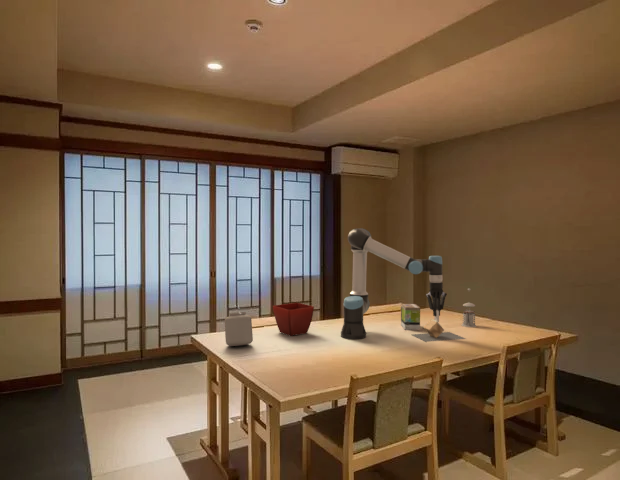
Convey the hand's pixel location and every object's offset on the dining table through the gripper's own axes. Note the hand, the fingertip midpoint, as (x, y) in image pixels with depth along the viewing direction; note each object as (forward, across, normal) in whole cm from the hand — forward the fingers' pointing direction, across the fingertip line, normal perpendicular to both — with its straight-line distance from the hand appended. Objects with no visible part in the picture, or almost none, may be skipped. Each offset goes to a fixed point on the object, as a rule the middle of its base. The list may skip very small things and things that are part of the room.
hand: (436, 321), depth 267 cm
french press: (+10, +37, +23) cm, 45 cm away
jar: (+7, -116, +12) cm, 117 cm away
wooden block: (+2, +1, 0) cm, 2 cm away
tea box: (+10, -3, +28) cm, 30 cm away
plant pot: (+8, -80, +34) cm, 87 cm away
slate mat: (+10, +1, 0) cm, 10 cm away
